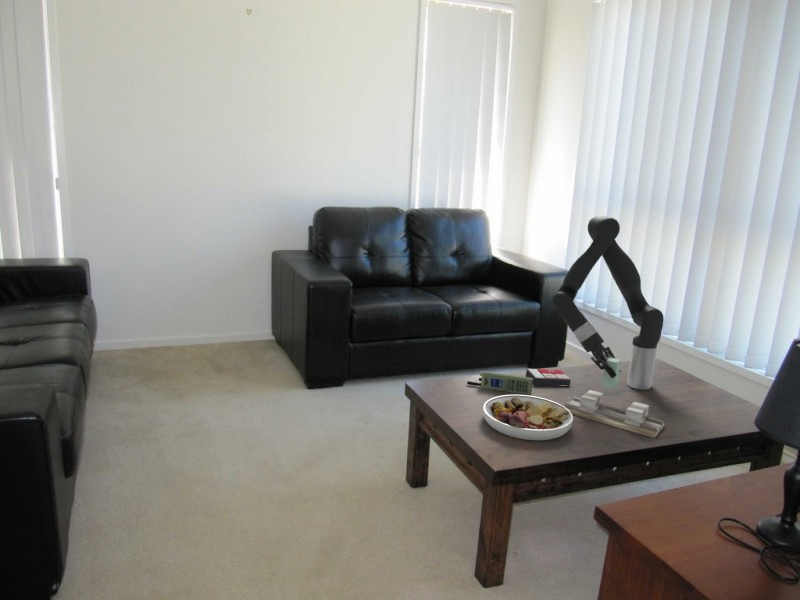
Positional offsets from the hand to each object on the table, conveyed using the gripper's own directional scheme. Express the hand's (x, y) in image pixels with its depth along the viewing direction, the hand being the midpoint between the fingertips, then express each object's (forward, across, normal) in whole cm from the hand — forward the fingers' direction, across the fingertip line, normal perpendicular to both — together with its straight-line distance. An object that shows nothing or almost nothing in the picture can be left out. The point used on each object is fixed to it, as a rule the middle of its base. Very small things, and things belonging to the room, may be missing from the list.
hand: (616, 374), depth 232 cm
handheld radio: (-19, -15, +37) cm, 44 cm away
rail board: (+11, -12, +6) cm, 18 cm away
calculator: (-12, +7, +30) cm, 33 cm away
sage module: (+2, 0, +5) cm, 5 cm away
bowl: (-3, -37, +21) cm, 43 cm away
